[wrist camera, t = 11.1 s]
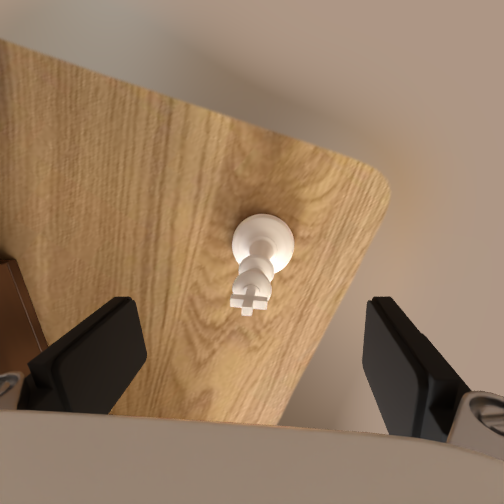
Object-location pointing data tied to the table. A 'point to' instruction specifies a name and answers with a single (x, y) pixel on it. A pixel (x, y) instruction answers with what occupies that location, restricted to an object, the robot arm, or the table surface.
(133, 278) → the table surface
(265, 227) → the chess piece
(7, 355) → the cabinet
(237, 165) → the table surface
